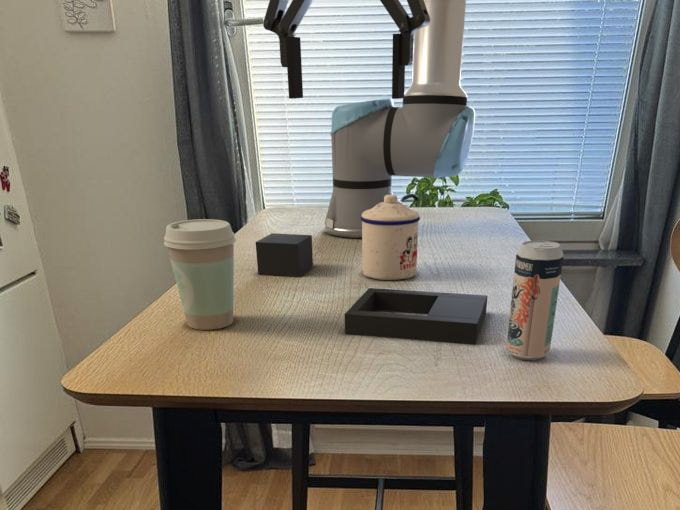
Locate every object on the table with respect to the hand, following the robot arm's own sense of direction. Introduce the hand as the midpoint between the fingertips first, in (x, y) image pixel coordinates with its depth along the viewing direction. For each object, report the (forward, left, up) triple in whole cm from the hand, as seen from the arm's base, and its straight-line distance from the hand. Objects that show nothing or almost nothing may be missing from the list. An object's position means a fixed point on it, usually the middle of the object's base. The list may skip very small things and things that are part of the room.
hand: (345, 98), depth 83 cm
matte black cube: (-12, -14, -25) cm, 31 cm away
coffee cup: (+16, -14, -25) cm, 33 cm away
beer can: (+18, +26, -25) cm, 40 cm away
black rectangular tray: (+10, +12, -25) cm, 29 cm away
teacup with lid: (-15, +3, -25) cm, 29 cm away
